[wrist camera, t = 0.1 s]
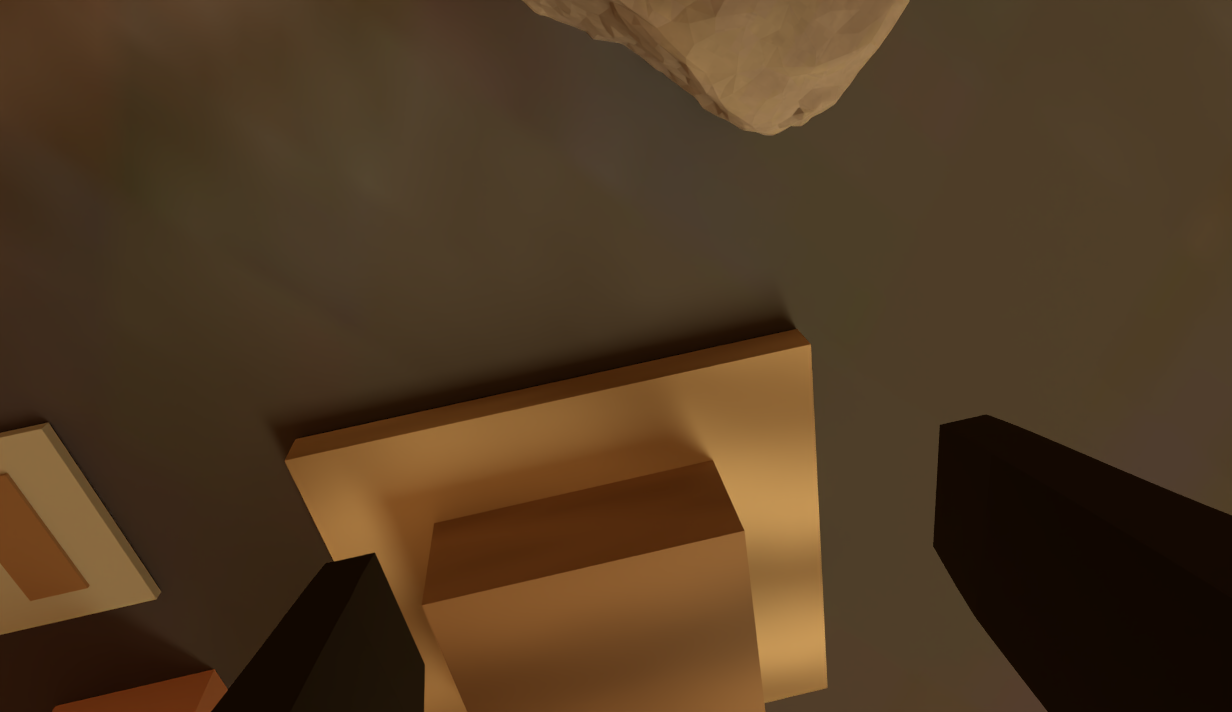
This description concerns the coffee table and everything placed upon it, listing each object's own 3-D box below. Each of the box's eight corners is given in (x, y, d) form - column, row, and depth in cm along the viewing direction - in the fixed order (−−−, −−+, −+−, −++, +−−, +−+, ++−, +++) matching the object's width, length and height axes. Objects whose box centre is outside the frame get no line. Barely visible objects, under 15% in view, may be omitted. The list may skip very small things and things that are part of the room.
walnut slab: (738, 650, 23) (767, 733, 21) (504, 706, 23) (503, 797, 20) (712, 459, 20) (744, 531, 17) (434, 523, 19) (421, 605, 17)
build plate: (816, 664, 26) (827, 687, 25) (444, 753, 25) (441, 780, 24) (797, 328, 19) (810, 344, 18) (295, 439, 19) (284, 460, 18)
